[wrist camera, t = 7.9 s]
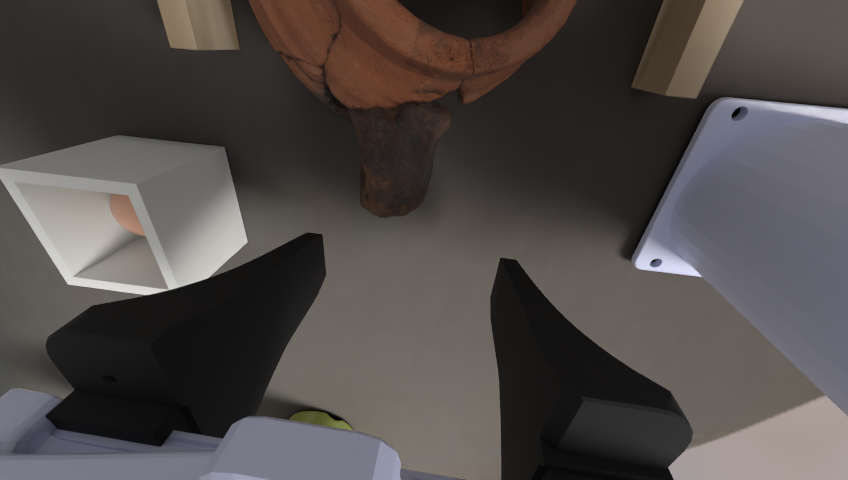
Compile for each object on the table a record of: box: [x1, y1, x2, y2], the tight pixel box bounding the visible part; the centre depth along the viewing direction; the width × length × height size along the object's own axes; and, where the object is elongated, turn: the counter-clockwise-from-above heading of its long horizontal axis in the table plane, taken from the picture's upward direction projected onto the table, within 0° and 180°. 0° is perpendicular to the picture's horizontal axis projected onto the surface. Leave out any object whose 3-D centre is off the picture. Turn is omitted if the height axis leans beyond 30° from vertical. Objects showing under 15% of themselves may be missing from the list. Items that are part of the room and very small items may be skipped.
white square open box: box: [0, 135, 248, 295], centre depth 15 cm, size 6×6×5 cm
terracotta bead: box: [109, 193, 146, 236], centre depth 15 cm, size 3×3×3 cm
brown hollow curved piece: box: [249, 0, 577, 218], centre depth 10 cm, size 12×10×8 cm
